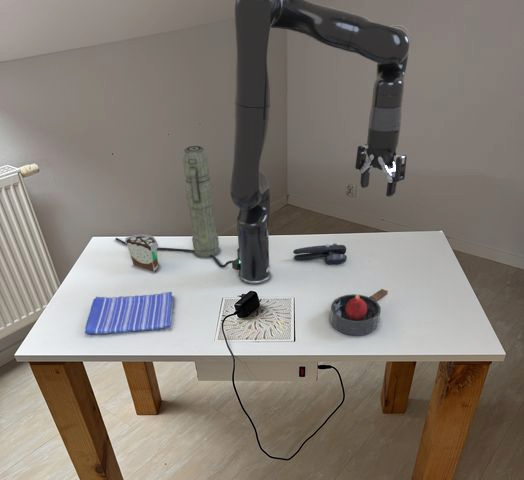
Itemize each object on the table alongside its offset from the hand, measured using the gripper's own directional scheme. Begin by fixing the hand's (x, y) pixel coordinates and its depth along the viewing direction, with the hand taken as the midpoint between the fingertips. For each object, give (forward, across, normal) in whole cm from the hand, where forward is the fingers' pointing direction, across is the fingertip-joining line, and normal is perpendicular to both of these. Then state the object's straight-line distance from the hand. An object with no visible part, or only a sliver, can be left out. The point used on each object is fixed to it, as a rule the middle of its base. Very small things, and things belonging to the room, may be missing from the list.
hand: (377, 191), depth 126 cm
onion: (+30, +9, -15) cm, 35 cm away
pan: (+30, +9, -15) cm, 35 cm away
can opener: (+30, -22, +2) cm, 38 cm away
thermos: (+30, -53, -23) cm, 65 cm away
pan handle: (+27, +9, -5) cm, 29 cm away
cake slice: (+30, -58, -42) cm, 78 cm away
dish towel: (+30, -36, -61) cm, 77 cm away
